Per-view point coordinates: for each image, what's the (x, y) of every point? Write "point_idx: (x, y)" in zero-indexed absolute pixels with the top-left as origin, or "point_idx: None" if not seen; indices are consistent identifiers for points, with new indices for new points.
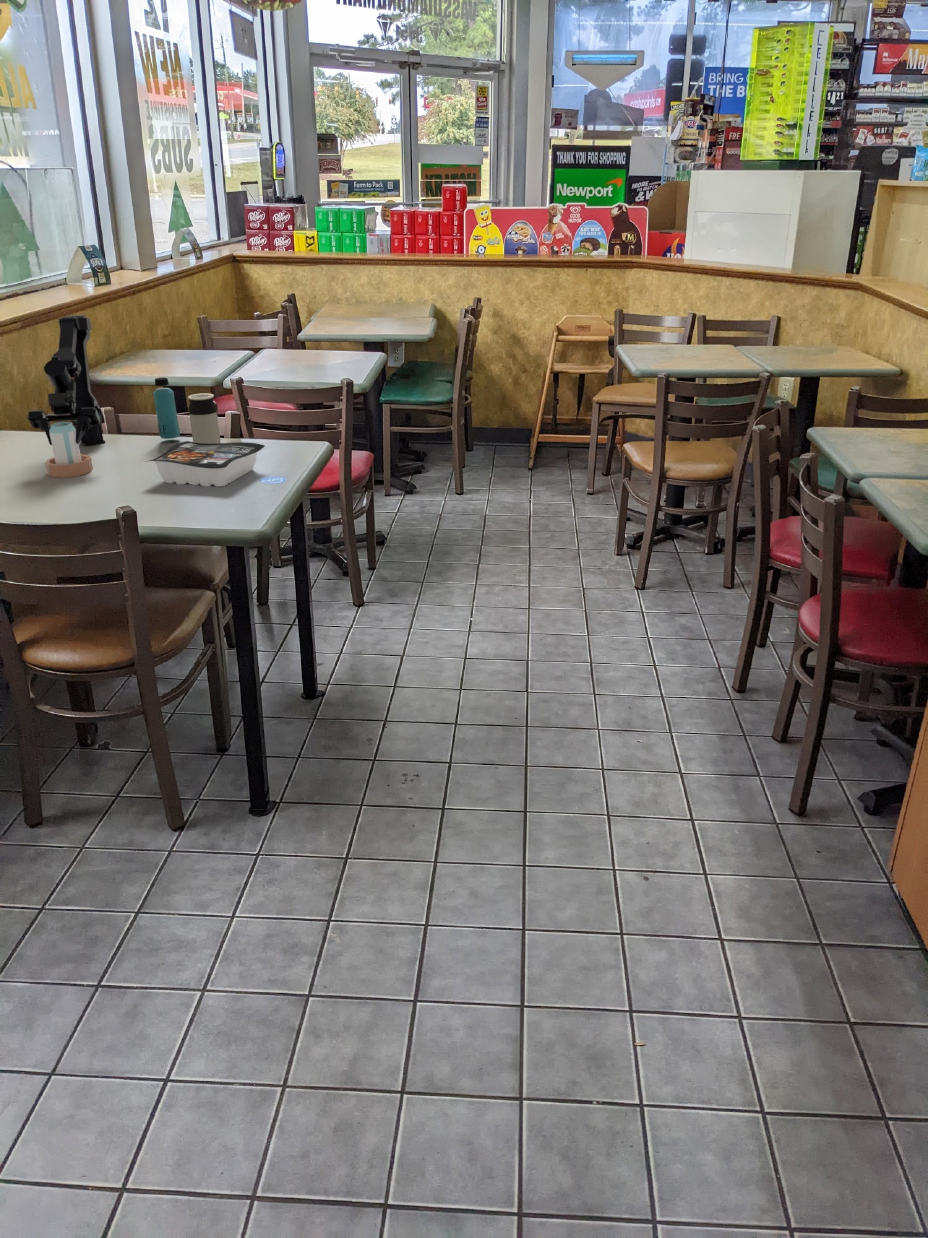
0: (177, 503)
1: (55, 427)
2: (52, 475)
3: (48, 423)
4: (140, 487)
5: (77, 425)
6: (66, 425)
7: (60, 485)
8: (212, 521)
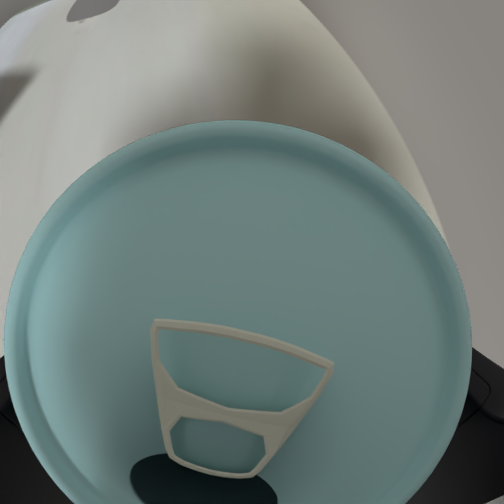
0: (22, 45)
1: (317, 142)
2: None
3: (487, 476)
4: (28, 101)
5: (3, 404)
6: (97, 332)
7: (234, 117)
8: (26, 17)
